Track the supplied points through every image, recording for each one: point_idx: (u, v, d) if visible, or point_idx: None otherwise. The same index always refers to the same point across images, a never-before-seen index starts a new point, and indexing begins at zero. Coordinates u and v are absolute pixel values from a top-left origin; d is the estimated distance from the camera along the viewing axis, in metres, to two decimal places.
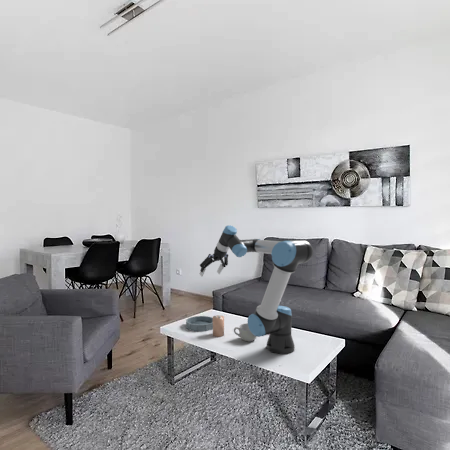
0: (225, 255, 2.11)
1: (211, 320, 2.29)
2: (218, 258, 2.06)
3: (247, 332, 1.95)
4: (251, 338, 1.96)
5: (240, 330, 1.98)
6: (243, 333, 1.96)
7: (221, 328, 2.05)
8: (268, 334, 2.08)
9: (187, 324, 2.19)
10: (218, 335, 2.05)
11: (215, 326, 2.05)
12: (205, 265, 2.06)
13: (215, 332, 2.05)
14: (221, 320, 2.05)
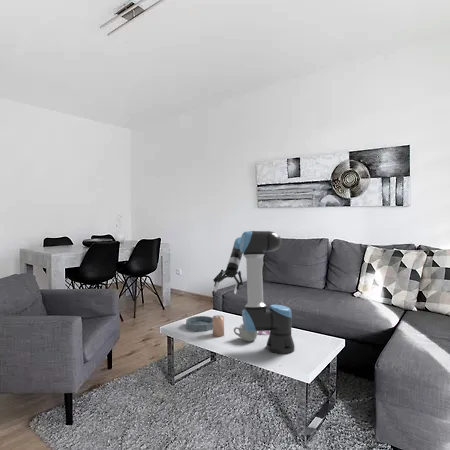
0: (238, 272, 2.24)
1: (211, 320, 2.29)
2: (228, 271, 2.25)
3: (247, 332, 1.95)
4: (251, 338, 1.96)
5: (240, 330, 1.98)
6: (243, 333, 1.96)
7: (221, 328, 2.05)
8: (268, 334, 2.08)
9: (187, 324, 2.19)
10: (218, 335, 2.05)
11: (215, 326, 2.05)
12: None
13: (215, 332, 2.05)
14: (221, 320, 2.05)
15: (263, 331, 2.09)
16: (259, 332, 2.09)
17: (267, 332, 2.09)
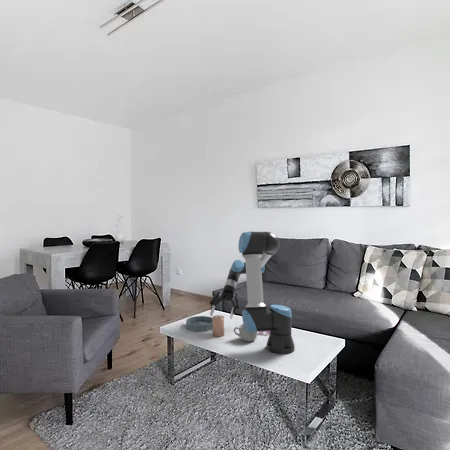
0: (234, 295, 2.21)
1: (211, 320, 2.29)
2: (225, 294, 2.22)
3: (247, 332, 1.95)
4: (251, 338, 1.96)
5: (240, 330, 1.98)
6: (243, 333, 1.96)
7: (221, 328, 2.05)
8: (269, 334, 2.08)
9: (187, 324, 2.19)
10: (217, 335, 2.05)
11: (215, 326, 2.05)
12: None
13: (215, 332, 2.05)
14: (221, 320, 2.05)
15: (264, 331, 2.09)
16: (260, 332, 2.09)
17: (268, 332, 2.08)
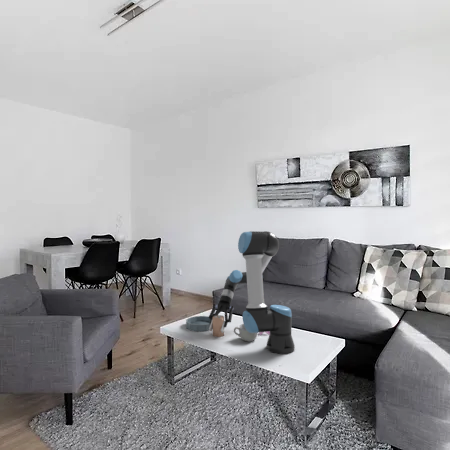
0: (230, 307, 2.13)
1: None
2: (221, 304, 2.15)
3: (247, 332, 1.95)
4: (251, 338, 1.96)
5: (240, 330, 1.98)
6: (243, 333, 1.96)
7: None
8: (269, 334, 2.07)
9: (187, 324, 2.19)
10: (217, 335, 2.05)
11: (215, 326, 2.05)
12: (212, 316, 2.12)
13: (215, 332, 2.05)
14: (221, 320, 2.05)
15: None
16: (260, 332, 2.09)
17: (268, 332, 2.08)
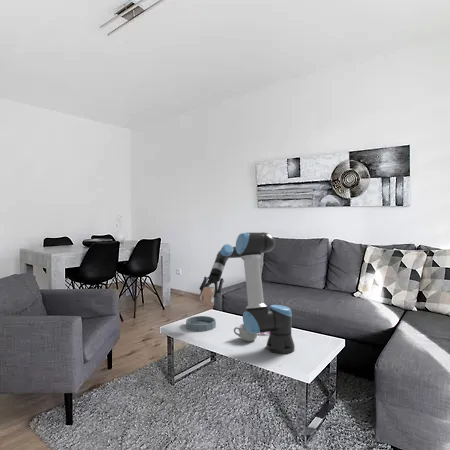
0: None
1: (211, 320, 2.29)
2: (211, 276, 2.24)
3: (247, 332, 1.95)
4: (251, 338, 1.96)
5: (240, 330, 1.98)
6: (243, 333, 1.96)
7: None
8: None
9: (187, 324, 2.19)
10: (207, 305, 2.14)
11: (205, 296, 2.14)
12: None
13: (205, 301, 2.15)
14: (211, 290, 2.14)
15: (265, 332, 2.08)
16: (261, 333, 2.08)
17: (269, 333, 2.08)
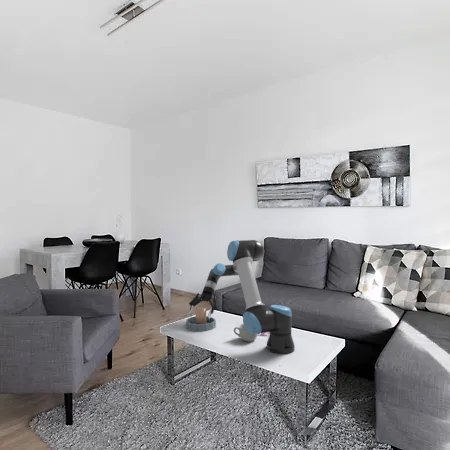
0: (213, 296, 2.29)
1: (211, 320, 2.29)
2: (204, 295, 2.30)
3: (247, 332, 1.95)
4: (251, 338, 1.96)
5: (240, 330, 1.98)
6: (243, 333, 1.96)
7: (203, 318, 2.21)
8: None
9: (187, 324, 2.19)
10: None
11: (198, 316, 2.21)
12: (193, 303, 2.30)
13: (197, 322, 2.21)
14: (203, 311, 2.21)
15: (266, 332, 2.07)
16: (262, 333, 2.07)
17: None
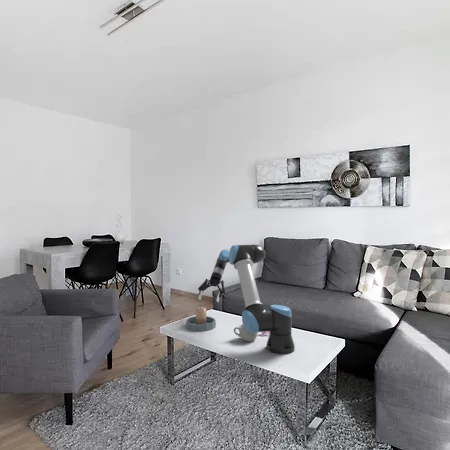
0: (221, 281, 2.41)
1: (211, 320, 2.29)
2: (212, 280, 2.42)
3: (247, 332, 1.95)
4: (251, 338, 1.96)
5: (240, 330, 1.98)
6: (243, 333, 1.96)
7: (203, 318, 2.21)
8: None
9: (187, 324, 2.19)
10: None
11: (197, 316, 2.21)
12: None
13: (197, 322, 2.21)
14: (203, 311, 2.21)
15: (266, 332, 2.07)
16: (262, 333, 2.07)
17: None
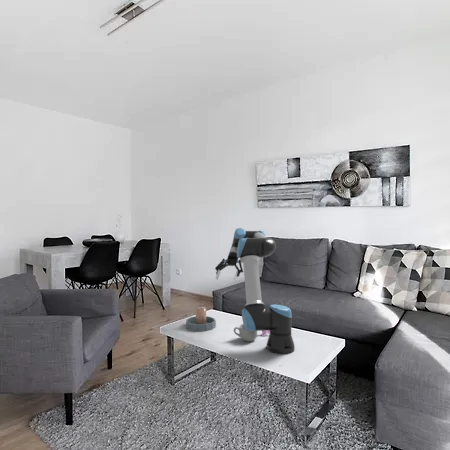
0: None
1: (211, 320, 2.29)
2: (229, 259, 2.40)
3: (247, 332, 1.95)
4: (251, 338, 1.96)
5: (240, 330, 1.98)
6: (243, 333, 1.96)
7: (203, 318, 2.21)
8: None
9: (187, 324, 2.19)
10: None
11: (198, 316, 2.21)
12: None
13: (197, 322, 2.21)
14: (203, 311, 2.21)
15: (267, 332, 2.07)
16: (263, 334, 2.07)
17: None
